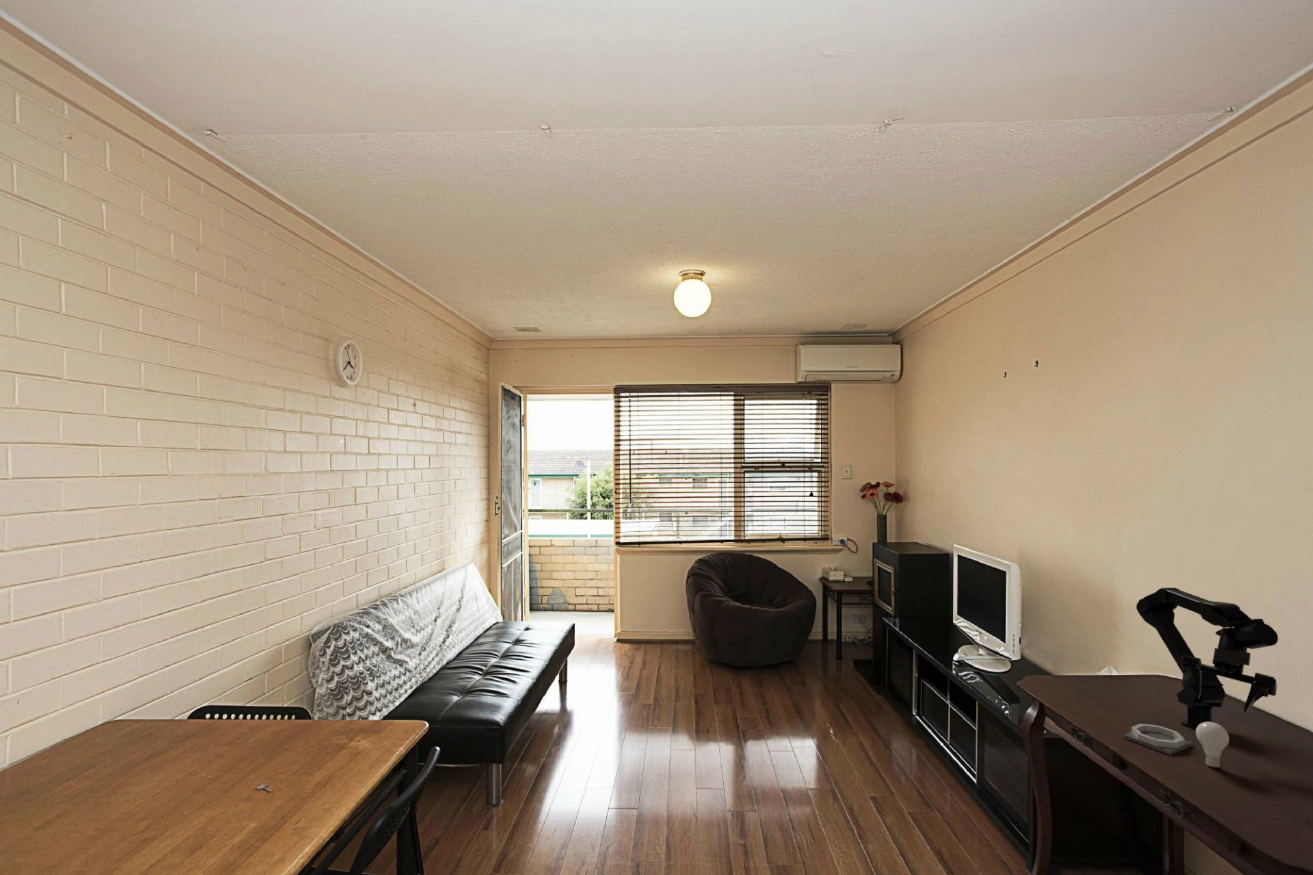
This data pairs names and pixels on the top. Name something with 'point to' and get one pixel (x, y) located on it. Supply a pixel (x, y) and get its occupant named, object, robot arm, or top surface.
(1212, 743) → the lightbulb
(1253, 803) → the top surface
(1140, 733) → the bulb stand
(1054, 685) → the top surface
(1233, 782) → the top surface
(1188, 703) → the robot arm
